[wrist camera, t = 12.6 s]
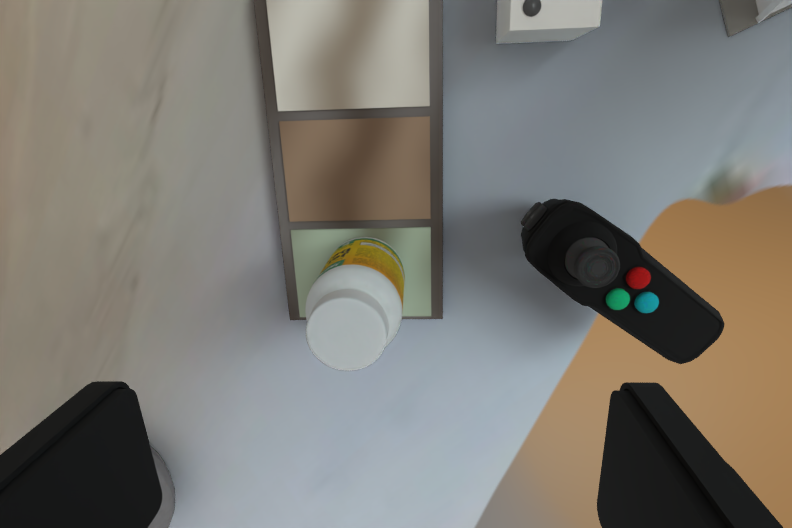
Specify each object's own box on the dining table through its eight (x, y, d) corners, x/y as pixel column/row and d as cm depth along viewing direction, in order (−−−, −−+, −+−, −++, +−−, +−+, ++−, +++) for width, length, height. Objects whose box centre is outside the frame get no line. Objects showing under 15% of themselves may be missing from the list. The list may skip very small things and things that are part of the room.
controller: (533, 170, 30) (586, 196, 20) (670, 275, 31) (778, 345, 22) (490, 222, 31) (522, 270, 21) (625, 321, 33) (709, 405, 23)
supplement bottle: (380, 321, 32) (365, 402, 23) (314, 284, 32) (272, 352, 23) (420, 260, 31) (421, 320, 22) (351, 219, 30) (322, 264, 21)
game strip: (441, -15, 27) (442, -21, 26) (441, 312, 33) (442, 320, 32) (258, -6, 27) (251, -11, 26) (293, 314, 34) (289, 321, 33)
